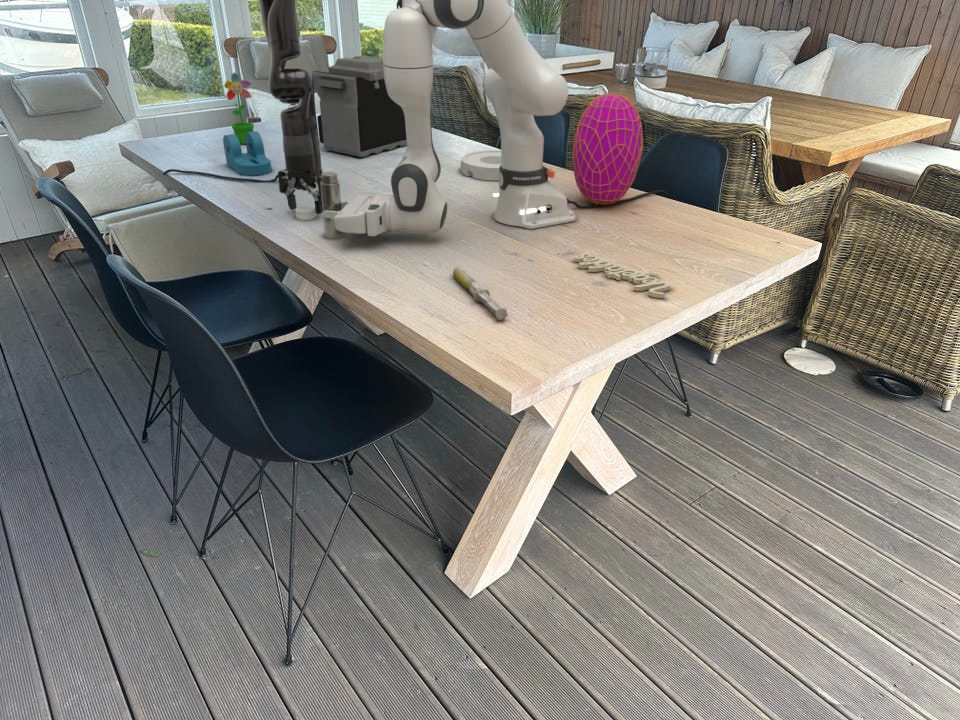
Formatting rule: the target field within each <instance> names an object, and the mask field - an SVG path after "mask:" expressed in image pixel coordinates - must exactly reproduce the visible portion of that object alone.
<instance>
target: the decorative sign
mask: <svg viewBox="0 0 960 720" xmlns="http://www.w3.org/2000/svg"><path fill="white" fill-rule="evenodd" d="M574 262H575V263H578V269H588V270H587V272H588V273H598V272H603V273H604V276H606V277H607V278H608V279H614V280H617V281H621V279H622V280H627V281H628V282H630V283H633V284H634V285H633V291H636V292H643V291H647V290H648V293H647V294H648V296H649V297H652V298H656V299H664V298H665V295H666V292H668V291H669V290H670V289H671V283H670V282H668V281H659V279H658V272H657V271H648V272H639V271H637V270H634V269H630V268H628V267H627V266H626V267H625V266H624V265H619V264H618V263H615V262H611V261H610V260H604V258H601V257H598V256H596V255H592V254H590V253H587V252H586V253H582V254H581V255H580V256H578V255H575V256H574Z"/></svg>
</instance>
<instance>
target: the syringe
mask: <svg viewBox="0 0 960 720" xmlns="http://www.w3.org/2000/svg"><path fill="white" fill-rule="evenodd" d="M452 274H453V277H454V279H455V280H457V281H458V282H459V283H460V285H462V287H464V289H466V290H467V291H468V293H470V295H471V296H472V298H473V300H474V302H477V303H478V302H480V303H482V304H483V305H484V306H485V307H486V308H487V309H488V310H489V311H490V312H491V313H492V314H493V315H494V316H495V317H496V320H497V321H503V320H504V319H506V318H507V317H509V314H508V310H507V308H506V307H502V306H501V305H500V303H498V302H497V301H496V300H494V299H493V298H492V297H491V296H490V295H491V293H490V290H488V289H486V288H483V287H482V286H481V285H480V284H479V283H478V282H477V281H476V280H474V278H473V277H471V275H469V274H468V273H467V272H466V270H465V269H464V268H463V267H462V266H456V267H454V268H453V271H452Z"/></svg>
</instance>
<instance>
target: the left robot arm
mask: <svg viewBox="0 0 960 720" xmlns="http://www.w3.org/2000/svg"><path fill="white" fill-rule="evenodd" d="M258 5H259V12H260V17H261V22H262V27H263V31H264V34H265V38H266V43H267V47H268V50H269V55H270V68H269V75H268V90H269V93H270V94H271V95H272V97H273V98H274V99H276V100H278V101H279V102H281V103H282V104H287V105H288V104H289V105H291V104H293V105H294V106H291V107H288V108H285V109H283V110H281V111H280V113H279V114H280V124H281V125H280V126H281V131H282V147H283V153H284V162H285V168H284V169H282V170H279V171H277V174H276V175H275V176H274V178H273V179H269V180H267V179H266V180H262V179H255V178H243V177H242V178H241V177H232V176H226V175H220V174H215V173H208V172H202V171H194V170H182V169H176V168H170V169H167V170H164V172H163V173H162V175H163V176H165V175H167V174H168V173H172V172H174V173H175V172H176V173H180V174H181V173H182V174H191V175H192V174H193V175H201V176H208V177H213V178H218V179H224V180H231V181H239V182H252V183H274V182H276V181H277V180H278V189H279V193H280V194H284V195H285V196H286V201H287V206H288V209H289V210H291V211H294V210H295V209H296V208H297V207H298V206H297V199H296V194H295V193H296V191H297V190H299V191H300V190H301V191H305V192H307V193H308V194H309V195H310V196H311V197H312V198H313V199H314V201H313V202H314V207H315V212H316V215H321V214H323V208H322V197H321V187H320V182H321V181H322V179H321V173H323V172H324V169H323V167H322V157H321V147H320V139H319V130H318V120H317V111H316V100H315V99H316V97H315V89H314V81H313V76H312V74H311V72H312V71H311V70H309V69H305V68H301V67H299V68H297V67H296V68H286V64H287V61H291V60H294V59H297V58H299V57H300V55H301V45H300V35H301V29H300V23H299V16H298V12H297V6H296V5H297V3H296V0H258Z"/></svg>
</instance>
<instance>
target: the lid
mask: <svg viewBox="0 0 960 720" xmlns="http://www.w3.org/2000/svg"><path fill="white" fill-rule="evenodd" d="M294 210H295V217H296V219H297V220H301V221H308V220H309V221H310V220H313V219H316V218H317V214H316V212H315V206H312V205H301V206H297V207H296V208H295V209H294Z"/></svg>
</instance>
